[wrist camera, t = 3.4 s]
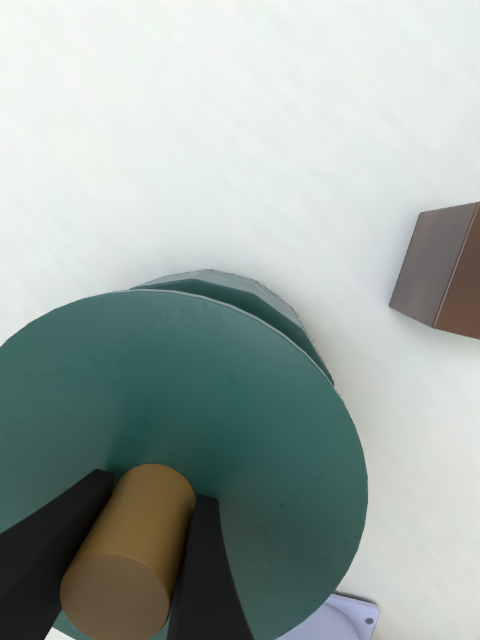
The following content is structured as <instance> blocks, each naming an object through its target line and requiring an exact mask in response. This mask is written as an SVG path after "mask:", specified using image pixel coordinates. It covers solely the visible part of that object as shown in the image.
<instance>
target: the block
mask: <svg viewBox="0 0 480 640" xmlns="http://www.w3.org/2000/svg"><path fill="white" fill-rule="evenodd" d="M389 307H391V308H393V309H395V310H397V311H399V312H401V313H403V314H405V315H407V316H409V317H411V318H413V319H415V320H417V321H419V322H421V323H423V324H425V325H427V326H429V327H432V328H434V329H438V330H442V331H446V332H450V333H455V334H459V335H463V336H467V337H471V338H475V339H479V340H480V202H475V203H470V204H465V205H459V206H454V207H448V208H443V209H438V210H432V211H427V212H421V213H420V216H419V219H418V222H417V224H416V227H415V230H414V233H413V236H412V239H411V242H410V245H409V248H408V251H407V254H406V257H405V260H404V263H403V266H402V269H401V272H400V275H399V278H398V281H397V284H396V287H395V290H394V293H393V296H392V299H391V302H390V305H389Z"/></svg>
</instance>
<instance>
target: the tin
mask: <svg viewBox="0 0 480 640" xmlns="http://www.w3.org/2000/svg"><path fill="white" fill-rule="evenodd" d="M136 289H156V290H174V291H179V292H185V293H190V294H196V295H201V296H205V297H208V298H211V299H214V300H218V301H221V302H224V303H227V304H230V305H233V306H235V307H237V308H239V309H241V310H243V311H245V312H248V313H250V314H252V315H254V316H256V317H258V318H260V319H261V320H263V321H264V322H266V323H268V324H269V325H271V326H272V327H274V328H275V329H277V330H279V331H280V332H282V333H283V334H284V335H286V336H287V337H288V338H289V339H290V340H292V341H293V342H294V343H295V344H296V345H298V346H299V347H300V348H301V349H302V350H304V351H305V352H306V353H307V354H308V356H309V357H310V358H311V359H312V360H313V361H314V362H315V363H316V364H317V365H318V367H319V368H320V369H321V370H322V371H323V372H324V373H325V375H326V376H327V378H328V379H329V380H330V382H331V383H332V385H333V386H334V381H333V379H332V377H331V375H330V373H329V371H328V369H327V368H326V366H325V364H324V362H323V360H322V358H321V357H320V355H319V353H318V351H317V349H316V347H315V346H314V344H313V342H312V340H311V339H310V337H309V335H308V334H307V332H306V330H305V329H304V327H303V325H302V324H301V322H300V320H299V318H298V317H297V315H296V313H295V312H294V310H293V309H292V307H290V306H289V305H288V304H286V303H285V302H284V301H282V300H281V299H280V298H278V297H277V296H276V295H275V294H274V293H272V292H271V291H269V290H268V289H266V288H265V287H263V286H262V285H260V284H259V283H258V282H256V281H254V280H251V279H247V278H243V277H240V276H237V275H234V274H229V273H223V272H219V271H215V270H211V269H210V270H208V269H207V270H201V271H194V272H186V273H181V274H175V275H169V276H164V277H161V278H158V279H155V280H153V281H150V282H147V283H144V284H142V285H139V286H136V287H133V288H131V289H129V290H136Z"/></svg>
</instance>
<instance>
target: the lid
mask: <svg viewBox="0 0 480 640" xmlns="http://www.w3.org/2000/svg"><path fill="white" fill-rule="evenodd" d="M95 469H100V470H105V471H109V472H113V473H116V474H115V479H114V484H113V489H112V494H111V495H110V497H109V499H108V500H107V502H106V504H105V506H104V507H103V509H102V511H101V512H100V514H99V516H98V518H97V519H96V521H95V523H94V524H93V526H92V528H91V529H90V531H89V533H88V535H87V536H86V538H85V540H84V541H83V543H82V545H81V547H80V548H79V550H78V552H77V553H76V555H75V557H74V558H73V560H72V562H71V564H70V565H69V567H68V569H67V570H66V572H65V574H64V576H63V578H62V581H61V585H60V593H59V594H60V602H61V606H62V610H61V612H60V614H59V615H58V617H57V619H56V621H55V622H54V624H53V626H52V627H53V628H55V629H57V630H59V631H61V632H62V633H64V634H66V635H68V636H70V637H72V638H74V639H76V640H166V639H167V633H168V626H169V620H170V614H171V607H172V603H173V599H174V594H175V590H176V586H177V582H178V578H179V573H180V569H181V565H182V561H183V556H184V551H185V545H186V539H187V535H188V531H189V527H190V523H191V519H192V514H193V510H194V506H195V502H196V498H197V494H201V495H205V496H209V497H213V498H217V499H218V501H219V509H220V520H221V527H222V533H223V539H224V544H225V548H226V553H227V557H228V561H229V565H230V569H231V573H232V576H233V580H234V583H235V587H236V590H237V593H238V596H239V599H240V602H241V605H242V608H243V611H244V614H245V616H246V619H247V622H248V624H249V627H250V629H251V632H252V634H253V637H254V639H255V640H275V639H277V638H279V637H281V636H283V635H284V634H286V633H287V632H289V631H290V630H292V629H293V628H295V627H296V626H298V625H299V624H301V623H302V622H304V621H305V620H306V619H307V618H308V617H309V616H311V615H312V614H313V613H314V612H315V611H316V610H317V609H319V608H320V607H321V606H322V604H323V603H324V602H325V601H326V600H327V599H328V598H329V596H330V595H331V594H332V593H333V592H334V591H335V589H336V588H337V586H338V585H339V583H340V582H341V580H342V579H343V577H344V576H345V574H346V573H347V571H348V569H349V567H350V565H351V563H352V561H353V558H354V556H355V554H356V552H357V550H358V547H359V543H360V540H361V537H362V533H363V530H364V526H365V519H366V512H367V504H368V476H367V470H366V464H365V458H364V453H363V449H362V446H361V442H360V439H359V436H358V433H357V430H356V427H355V425H354V423H353V421H352V419H351V417H350V415H349V413H348V411H347V409H346V407H345V404H344V402H343V400H342V399H341V397H340V395H339V394H338V392H337V391H336V389H335V388H334V386H333V385H332V383H331V382H330V380H329V379H328V378H327V376H326V375H325V373H324V372H323V371H322V370H321V369H320V368H319V367H318V365H317V364H316V363H315V362H314V361H313V360H312V359H311V358H310V357H309V356H308V354H307V353H306V352H305V351H304V350H302V349H301V348H300V347H299V346H298V345H296V344H295V343H294V342H293V341H292V340H290V339H289V338H288V337H287V336H286V335H284V334H283V333H282V332H280V331H279V330H277V329H275V328H274V327H272V326H271V325H269V324H268V323H266V322H264V321H263V320H261V319H260V318H258V317H256V316H254V315H252V314H250V313H248V312H245V311H243V310H241V309H239V308H237V307H235V306H233V305H230V304H227V303H224V302H221V301H218V300H214V299H211V298H208V297H205V296H201V295H196V294H190V293H185V292H179V291H174V290H156V289H136V290H124V291H114V292H109V293H105V294H100V295H96V296H91V297H87V298H83V299H80V300H78V301H75V302H72V303H70V304H67V305H64V306H62V307H59V308H56V309H54V310H52V311H50V312H48V313H46V314H45V315H43V316H41V317H39V318H37V319H36V320H34V321H32V322H30V323H29V324H27V325H26V326H25V327H23V328H22V329H21V330H19V331H18V332H17V333H15V334H14V335H13V336H12V337H10V338H9V339H8V340H7V341H6V342H5V343H4V344H3V345H2V346H1V347H0V533H2V532H3V531H5V530H7V529H8V528H10V527H11V526H13V525H15V524H16V523H18V522H19V521H21V520H23V519H24V518H26V517H28V516H29V515H31V514H32V513H34V512H35V511H37V510H38V509H40V508H41V507H43V506H44V505H46V504H47V503H49V502H50V501H52V500H53V499H54V498H56V497H57V496H59V495H60V494H62V493H63V492H64V491H66V490H67V489H69V488H70V487H71V486H73V485H74V484H75V483H77V482H78V481H79V480H81V479H82V478H83V477H85V476H86V475H87V474H89V473H90V472H91V471H93V470H95Z"/></svg>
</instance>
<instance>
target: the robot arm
mask: <svg viewBox="0 0 480 640" xmlns="http://www.w3.org/2000/svg"><path fill="white" fill-rule="evenodd" d="M115 474H116V473H113V472H109V471H105V470H100V469H95V470H93V471H91V472H90V473H89V474H87V475H86V476H85V477H83V478H82V479H81V480H79V481H78V482H77V483H75V484H74V485H73V486H71V487H70V488H69V489H67V490H66V491H64V492H63V493H62V494H60V495H59V496H57V497H56V498H54V499H53V500H52V501H50V502H49V503H47V504H46V505H44V506H43V507H41V508H40V509H38V510H37V511H35V512H34V513H32V514H31V515H29V516H28V517H26V518H24V519H23V520H21V521H19V522H18V523H16V524H15V525H13V526H11V527H10V528H8V529H7V530H5V531H3V532H2V533H0V640H44V639H45V638H46V636H47V634H48V632H49V631H50V629H51V627H52V626H53V624H54V622H55V621H56V619H57V617H58V615H59V614H60V612H61V610H62V606H61V602H60V594H59V593H60V585H61V581H62V578H63V576H64V574H65V572H66V570H67V569H68V567H69V565H70V564H71V562H72V560H73V558H74V557H75V555H76V553H77V552H78V550H79V548H80V547H81V545H82V543H83V541H84V540H85V538H86V536H87V535H88V533H89V531H90V529H91V528H92V526H93V524H94V523H95V521H96V519H97V518H98V516H99V514H100V512H101V511H102V509H103V507H104V506H105V504H106V502H107V500H108V499H109V497H110V495H111V494H112V489H113V484H114V479H115ZM378 617H379V611H378V608H377V606H376V605H375V604H372V603H368V602H364V601H360V600H356V599H352V598H348V597H344V596H340V595H336V594H331V595H330V596H329V598H328V599H327V600H326V601H325V602H324V603H323V604H322V606H321V607H320V608H319V609H317V610H316V611H315V612H314V613H313V614H312V615H311V616H309V617H308V618H307V619H306V620H305V621H304V622H302V623H301V624H299V625H298V626H296V627H295V628H293V629H292V630H290V631H289V632H287V633H286V634H284V635H283V636H281V637H279V638H277V639H275V640H369V639H370V637H371V634H372V632H373V630H374V627H375V625H376V622H377V620H378ZM166 640H255V639H254V637H253V634H252V632H251V629H250V627H249V624H248V622H247V619H246V616H245V614H244V611H243V608H242V605H241V602H240V599H239V596H238V593H237V590H236V587H235V583H234V580H233V576H232V573H231V569H230V565H229V561H228V557H227V553H226V548H225V544H224V539H223V533H222V527H221V520H220V509H219V501H218V499H217V498H213V497H209V496H205V495H201V494H197V498H196V502H195V506H194V510H193V514H192V519H191V523H190V527H189V531H188V535H187V539H186V545H185V551H184V556H183V561H182V565H181V569H180V573H179V578H178V582H177V586H176V590H175V594H174V599H173V603H172V607H171V614H170V620H169V626H168V633H167V639H166Z"/></svg>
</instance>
